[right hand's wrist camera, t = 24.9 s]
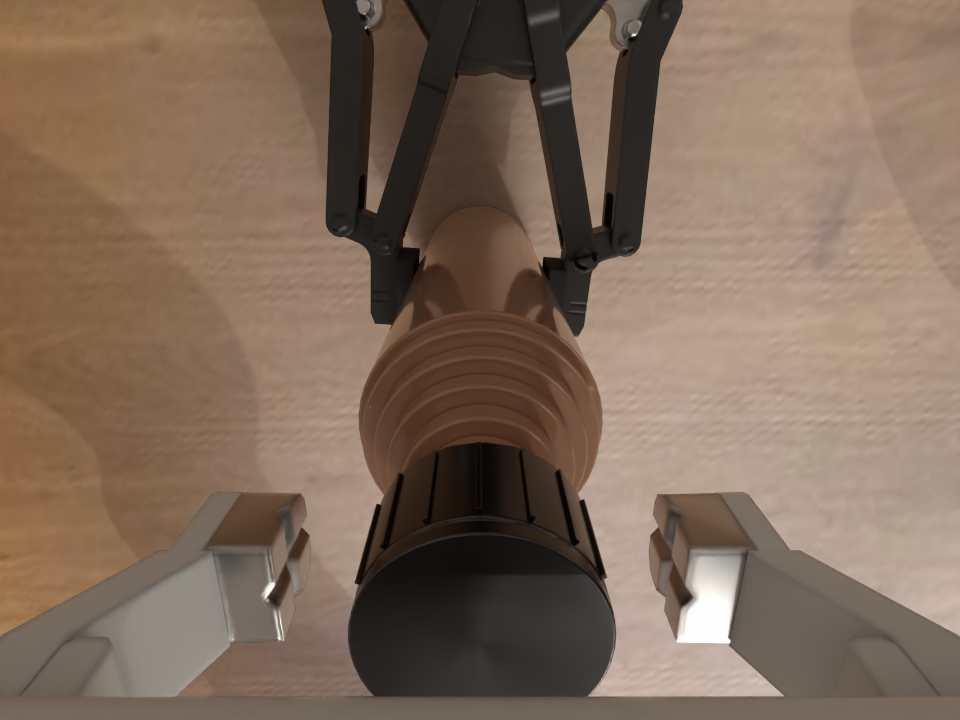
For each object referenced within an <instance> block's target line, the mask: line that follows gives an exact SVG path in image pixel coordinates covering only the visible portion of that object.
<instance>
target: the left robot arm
mask: <svg viewBox="0 0 960 720" xmlns="http://www.w3.org/2000/svg"><path fill="white" fill-rule="evenodd" d="M387 1H388V0H322V2H323V5H324V9H325V13H326V16H327V20H328V23H329V27H330V30H331V34H332V45H331V75H330V106H329V136H328V166H327V197H326V226H327V228H328V230H329V231H330V232H331V233H332V234H333V235H335V236H338V237H346V238H348V239H351V240H353V241H355V242H358V243H360V244H361V245H363V246H364V247H365V248H366V249H367V250H368V252H369V254H370V258H371V314H372V317H373V319H374V322H375V324H390V325H392V324H393V321H394V319H395V317H396V315H397V312H398V310H399V308H400V306H401V304H402V301H403V299H404V297H405V295H406V293H407V290H408V288H409V286H410V284H411V281H412V279H413V277H414V275H415V273H416V270H417V268H418V266H419V254H420V248H406V247H403V238H404V237H405V235H406V234H405V232H406V229H407V226H408V223H409V220H410V217H411V214H412V211H413V208H414V205H415V202H416V199H417V196H418V193H419V190H420V187H421V184H422V181H423V178H424V175H425V172H426V169H427V166H428V164H429V161H430V158H431V155H432V152H433V149H434V146H435V143H436V140H437V137H438V134H439V131H440V128H441V125H442V122H443V119H444V116H445V113H446V110H447V107H448V104H449V101H450V98H451V96H452V94H453V91H454V88H455V85H456V82H457V79H458V76H459V75H468V76H478V75H483V74H487V73H492V72H496V73H499V74H502V75H504V76H507V77H509V78H512V79H520V80H529V83H530V88H531V93H532V98H533V102H534V105H535V110H536V115H537V120H538V126H539V131H540V137H541V142H542V148H543V153H544V159H545V164H546V170H547V175H548V181H549V186H550V192H551V197H552V203H553V208H554V214H555V219H556V224H557V230H558V235H559V241H560V246H561V250H562V251H561V259H560V258H551V257H543V266H542V269H543V271H544V273H545V275H546V277H547V279H548V281H549V284H550V286H551V288H552V290H553V292H554V294H555V296H556V299H557V301H558V303H559V305H560V307H561V309H562V311H563V314H564V316H565V318H566V320H567V322H568V324H569V326H570V329H571V331H572V333H573V335H574V336H577V337H578V336H579V334H580V332H581V330H582V329H583V327H584V321H585V313H586V307H587V300H588V293H589V285H590V278H591V273H592V271H593V270H594V269H595V268H596V267H597V265H598V263H600V262H601V261H604V260H606V259H610V258H614V257H617V256H624V257H626V256H631V255H632V254H634V253H635V252H636V251H637V250H638V249H639V246H640V243H641V234H642V225H643V215H644V206H645V197H646V188H647V179H648V170H649V161H650V151H651V142H652V133H653V124H654V115H655V106H656V97H657V88H658V78H659V69H660V61H661V59H662V56H663V54H664V52H665V49H666V47H667V45H668V43H669V40H670V38H671V36H672V33H673V31H674V29H675V26H676V24H677V22H678V20H679V17H680V15H681V12H682V8H683V3H682V0H404V2H405V4H406V5H407V7H408V9H409V11H410V12H411V14H412V16H413V17H414V19H415V21H416V23H417V24H418V26H419V28H420V29H421V31H422V33H423V35H424V36H425V38H426V40H427V41H428V43H429V44H428V47H427V50H426V53H425V57H424V60H423V63H422V66H421V70H420V73H419V77H418V83H417V87H416V91H415V94H414V97H413V100H412V103H411V107H410V110H409V113H408V116H407V119H406V122H405V126H404V129H403V132H402V135H401V138H400V142H399V145H398V148H397V151H396V154H395V158H394V161H393V164H392V167H391V170H390V173H389V177H388V180H387V183H386V186H385V189H384V193H383V196H382V199H381V202H380V205H379V208H378V212H377V214H376V213H374V212H371V211H369V210H367V209H366V193H367V175H368V157H369V140H370V122H371V104H372V86H373V69H374V45H373V35H372V31H376V30H378V29H379V28H380V27H382V25H383V23H384V21H385V18H386V10H385V7H386V3H387ZM600 9H602V10H604V11H605V12H606V13H607V14H608V15H609V18H610V20H611V29H610V41H611V44H612V45H613V46H614V48H616V49H617V50H619V51H620V54H619V57H618V61H617V65H616V70H615V77H614V87H613V98H612V110H611V122H610V134H609V145H608V157H607V169H606V181H605V193H604V204H603V216H602V226H599V227H595V228H592V224H591V217H590V211H589V205H588V199H587V193H586V186H585V180H584V174H583V168H582V162H581V155H580V149H579V143H578V137H577V131H576V124H575V118H574V112H573V106H572V99H571V81H570V74H569V68H568V62H567V56H566V52H567V51H568V50H569V48H570V47H571V46H572V45H573V43H574V42H575V41H576V40H577V38H578V37H579V36H580V35H581V33H582V32H583V31H584V30H585V28H586V27H587V26H588V24H589V23H590V22H591V21H592V19H593V18H594V17H595V16H596V14H597V13H598V12H599V11H600Z"/></svg>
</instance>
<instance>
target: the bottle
mask: <svg viewBox="0 0 960 720" xmlns="http://www.w3.org/2000/svg"><path fill="white" fill-rule="evenodd" d="M359 431H360V437H361V443H362V446H363V451H364V456H365V459H366V462H367V465H368V468H369V471H370V473H371V475H372V477H373V479H374V481H375V483H376V484H377V486H378V487H379V489H380V490H381V492H382V493H383V494H384V495H385V494H386V492H387V490H388V488H389V487H390V486H391V485H392V483H393V482H394V481H395V479H396V475H397V474H398V473H399V472H400V473H402V472H404V471H405V470H406V469H407V468H408V467H410V466H411V465H412V464H413V463H414V462H416V461H417V460H419V459H420V458H422V457H425V456H427V455H429V454H431V453H432V451H435V450H437V451H438V450H441V449H443V448H445V447H449V446H452V445H460V444H467V443H476V442H483V443H484V442H489V443H496V444H503V445H509V446H515V447H517V448H523V449H526V451H528V452H530V453H532V454H534V455H536V456H538V457H540V458H542V459H544V460H546V461H547V462H549V463H550V464H551V465H552V466H554V467H555V468H556V469H557V470H558V469H561V470H562V471H563V474H564V476H565V477H566V479H567V480H568V481H569V482H570V483H571V484H572V486H573V487H574V489H575V491H576V492H577V494H578V493H579V492H580V491H581V489H582V488H583V486H584V484H585V483H586V481H587V480H588V478H589V476H590V473H591V471H592V469H593V467H594V464H595V461H596V457H597V454H598V448H599V443H600V439H601V432H602V406H601V399H600V395H599V392H598V388H597V385H596V382H595V380H594V378H593V376H592V374H591V371H590V369H589V367H588V365H587V363H586V361H585V359H584V356H583V354H582V352H581V350H580V348H579V346H578V344H577V341H576V339H575V337H574V335H573V333H572V331H571V329H570V326H569V324H568V322H567V320H566V318H565V316H564V314H563V311H562V309H561V307H560V305H559V303H558V301H557V299H556V296H555V294H554V292H553V290H552V288H551V286H550V284H549V281H548V279H547V277H546V275H545V273H544V271H543V269H542V266H541V264H540V262H539V260H538V258H537V256H536V254H535V251H534V249H533V247H532V245H531V243H530V241H529V239H528V237H527V234H526V232H525V231H524V229H523V228H522V227H521V225H520V224H519V223H518V222H517V221H516V220H515V219H514V218H513V217H511V216H510V215H508V214H507V213H505V212H503V211H501V210H498V209H495V208H492V207H486V206H474V207H468V208H464V209H461V210H458V211H456V212H455V213H453V214H451V215H450V216H448V217H447V218H446V219H445V220H443V221H442V222H441V223H440V225H439V226H438V227H437V228H436V230H435V232H434V233H433V235H432V237H431V239H430V242H429V244H428V246H427V248H426V250H425V253H424V255H423V257H422V259H421V262H420V264H419V266H418V268H417V270H416V273H415V275H414V277H413V279H412V281H411V284H410V286H409V288H408V290H407V293H406V295H405V297H404V299H403V301H402V304H401V306H400V308H399V310H398V312H397V315H396V317H395V319H394V321H393V324H392V326H391V328H390V330H389V332H388V335H387V337H386V339H385V341H384V343H383V346H382V348H381V350H380V352H379V355H378V357H377V359H376V361H375V363H374V366H373V368H372V370H371V372H370V375H369V377H368V379H367V381H366V384H365V386H364V389H363V393H362V397H361V400H360V409H359Z"/></svg>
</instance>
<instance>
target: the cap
mask: <svg viewBox="0 0 960 720" xmlns="http://www.w3.org/2000/svg"><path fill="white" fill-rule="evenodd" d="M606 578H607V575H606V572H605V569H604V565H603V562H602V558H601V555H600V551H599V548H598V544H597V541H596V537H595V534H594V530H593V527H592V523H591V520H590V516H589V513H588V509H587V506H586V503H585V500H584V499H583V500H580V498H579V495H578V494H577V492H576V491H575V489H574V487H573V486H572V484H571V483H570V482H569V481H568V480H567V479H566V477H565V476H564V474H563V471H562V470H561V469H558V470H557V469H556V468H555V467H554V466H552V465H551V464H550V463H549V462H547V461H546V460H544V459H542V458H540V457H538V456H536V455H534V454H532V453H530V452H528V451H526V449H523V448H517V447H515V446H509V445H503V444H496V443H489V442H484V443H483V442H476V443H467V444H460V445H452V446H449V447H445V448H443V449H441V450H438V451H437V450H435V451H432V453H431V454H429V455H427V456H425V457H422V458H420V459H419V460H417V461H416V462H414V463H413V464H412V465H411V466H410V467H408V468H407V469H406V470H405V471H404V472H402V473H400V472H399V473H398V474H397V475H396V479H395V481H394V482H393V483H392V485H391V486H390V487H389V488H388V490H387V492H386V494H385V495H384V497H383V499H382V502H381V504H380V505H379V504H377V505H376V507H375V511H374V515H373V518H372V522H371V525H370V529H369V533H368V536H367V540H366V544H365V547H364V551H363V554H362V558H361V562H360V565H359V569H358V573H357V576H356V580H355V584H358V588H357V592H356V596H355V599H354V603H353V607H352V610H351V615H350V619H349V624H348V643H349V650H350V655H351V658H352V661H353V664H354V667H355V669H356V671H357V673H358V675H359V677H360V679H361V680H362V682H363V683H364V684H365V686H366V687H367V689H368V690H369V691H370V692H371V693H372V694H373V695H374V696H407V697H589V696H590V695H591V694H592V693H593V692H594V690H595V689H596V688H597V687H598V686H599V684H600V683H601V681H602V679H603V678H604V676H605V675H606V673H607V670H608V668H609V666H610V663H611V661H612V657H613V653H614V649H615V642H616V626H615V618H614V613H613V609H612V606H611V602H610V599H609V595H608V592H607V588H606V584H605V581H604V579H606Z"/></svg>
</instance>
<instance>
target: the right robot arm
mask: <svg viewBox="0 0 960 720" xmlns="http://www.w3.org/2000/svg"><path fill="white" fill-rule="evenodd" d="M306 516H307V511H306V505H305V499H304V497H303V496H302V495H301V494H297V493H248V492H246V493H243V492H217V493H215V494H212V495H211V496H210V497H209V498H208V499H207V501H206V502H205V503H204V505H203V506H202V507H201V509H200V510H199V511H198V513H197V514H196V515H195V517H194V518H193V519H192V521H191V522H190V523H189V525H188V526H187V527H186V529H185V530H184V531H183V533H182V534H181V535H180V537H179V538H178V539H177V541H176V542H175V543H174V545H173V546H172V547H171V549H170V550H162V551H158V552H156V553H154V554H153V555H151V556H149V557H147V558H145V559H143V560H141V561H140V562H138V563H136V564H134V565H132V566H130V567H128V568H126V569H125V570H123V571H121V572H119V573H117V574H115V575H113V576H111V577H110V578H108V579H106V580H104V581H102V582H100V583H98V584H97V585H95V586H93V587H91V588H89V589H87V590H85V591H83V592H82V593H80V594H78V595H76V596H74V597H72V598H70V599H68V600H67V601H65V602H63V603H61V604H59V605H57V606H55V607H54V608H52V609H50V610H48V611H46V612H44V613H42V614H40V615H39V616H37V617H35V618H33V619H31V620H29V621H27V622H26V623H24V624H22V625H20V626H18V627H16V628H14V629H12V630H11V631H9V632H7V633H5V634H3V635H2V636H1V637H0V720H960V637H959V636H958V635H956V634H955V633H953V632H951V631H949V630H947V629H945V628H943V627H942V626H940V625H938V624H936V623H934V622H932V621H930V620H928V619H927V618H925V617H923V616H921V615H919V614H917V613H915V612H914V611H912V610H910V609H908V608H906V607H904V606H902V605H901V604H899V603H897V602H895V601H893V600H891V599H889V598H887V597H886V596H884V595H882V594H880V593H878V592H876V591H874V590H873V589H871V588H869V587H867V586H865V585H863V584H861V583H860V582H858V581H856V580H854V579H852V578H850V577H848V576H846V575H845V574H843V573H841V572H839V571H837V570H835V569H833V568H832V567H830V566H828V565H826V564H824V563H822V562H820V561H819V560H817V559H815V558H813V557H811V556H809V555H807V554H806V553H804V552H802V551H798V550H790V549H789V547H788V546H787V545H786V543H785V542H784V541H783V539H782V538H781V537H780V535H779V534H778V533H777V532H776V530H775V529H774V528H773V526H772V525H771V524H770V522H769V521H768V520H767V518H766V517H765V516H764V514H763V513H762V512H761V510H760V509H759V508H758V506H757V505H756V504H755V502H754V501H753V500H752V498H751V497H750V496H749V495H748V494H746V493H744V492H726V493H705V494H658V495H657V497H656V500H655V504H654V511H653V516H654V518H655V520H656V522H657V525H658V528H657V529H656V530H655V531H654V532H653V533H652V534H651V535H650V545H649V562H650V570H651V575H652V579H653V582H654V585H655V587H656V590H657V591H658V592H659V593H661V594H662V595H663V596H665V597H666V601H665V608H664V611H665V614H666V616H667V619H668V621H669V624H670V626H671V629H672V631H673V634H674V636H675V639H676V641H677V642H706V643H730V644H729V646H730V647H731V648H732V649H734V650H735V651H736V652H737V653H738V654H739V655H740V656H741V657H742V658H743V659H745V660H746V661H747V662H748V663H749V664H750V665H751V666H752V667H753V668H754V669H755V670H757V671H758V672H759V673H760V674H761V675H762V676H763V677H764V678H765V679H766V680H768V681H769V682H770V683H771V684H772V685H773V686H774V687H775V688H776V689H777V690H779V691H780V692H781V693H782V694H783V695H784V696H785V697H407V696H371V697H175V696H176V695H177V694H178V693H179V692H181V691H182V690H183V689H184V688H185V687H186V686H187V685H188V684H189V683H190V682H192V681H193V680H194V679H195V678H196V677H197V676H198V675H199V674H200V673H201V672H203V671H204V670H205V669H206V668H207V667H208V666H209V665H210V664H211V663H212V662H214V661H215V660H216V659H217V658H218V657H219V656H220V655H221V654H222V653H223V652H225V651H226V650H227V649H228V648H229V647H230V643H253V642H283V641H284V639H285V636H286V634H287V631H288V629H289V626H290V624H291V621H292V619H293V616H294V614H295V611H296V608H295V601H294V597H295V596H297V595H298V594H299V593H301V592H302V591H303V590H304V587H305V585H306V582H307V579H308V575H309V569H310V563H311V543H310V535H309V534H308V533H307V532H306V531H305V530H304V529H303V528H302V525H303V522H304V520H305V518H306Z"/></svg>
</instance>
